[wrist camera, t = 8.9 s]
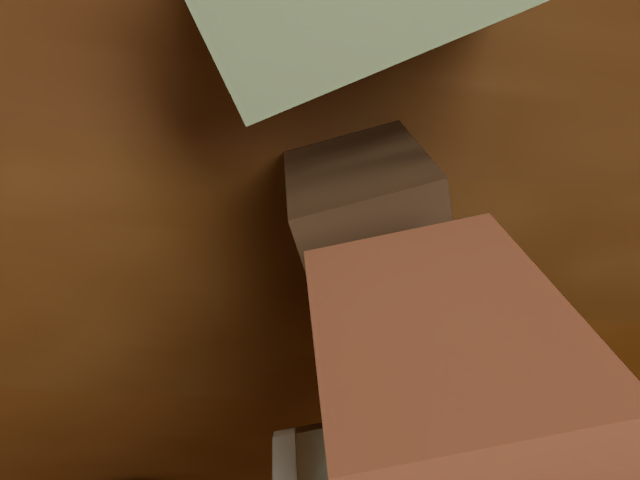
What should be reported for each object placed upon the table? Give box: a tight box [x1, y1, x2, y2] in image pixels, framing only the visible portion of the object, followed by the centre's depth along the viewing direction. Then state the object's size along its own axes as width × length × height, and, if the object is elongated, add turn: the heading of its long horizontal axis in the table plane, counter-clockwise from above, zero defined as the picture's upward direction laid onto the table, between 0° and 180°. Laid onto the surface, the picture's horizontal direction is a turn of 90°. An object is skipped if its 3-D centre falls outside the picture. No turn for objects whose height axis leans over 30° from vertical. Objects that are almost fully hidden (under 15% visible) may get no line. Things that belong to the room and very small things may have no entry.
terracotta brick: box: [304, 213, 640, 480], centre depth 9 cm, size 8×4×5 cm, turn 11°
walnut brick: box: [283, 120, 453, 274], centre depth 15 cm, size 8×4×5 cm, turn 14°
